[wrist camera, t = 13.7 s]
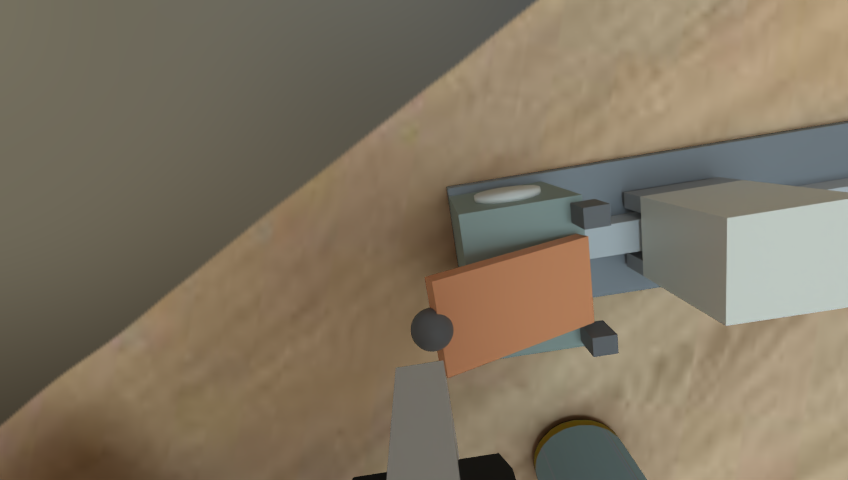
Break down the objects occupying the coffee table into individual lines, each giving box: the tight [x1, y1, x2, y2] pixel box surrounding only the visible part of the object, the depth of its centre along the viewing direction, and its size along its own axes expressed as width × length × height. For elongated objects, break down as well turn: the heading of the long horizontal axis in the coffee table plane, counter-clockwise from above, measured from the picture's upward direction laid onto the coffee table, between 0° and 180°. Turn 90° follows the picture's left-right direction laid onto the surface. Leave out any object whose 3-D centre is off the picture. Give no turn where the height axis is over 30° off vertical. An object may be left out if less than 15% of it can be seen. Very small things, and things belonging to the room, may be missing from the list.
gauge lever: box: [411, 234, 594, 378], centre depth 18 cm, size 2×4×9 cm
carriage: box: [624, 177, 848, 326], centre depth 22 cm, size 6×5×9 cm
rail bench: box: [447, 121, 848, 359], centre depth 23 cm, size 32×9×10 cm, turn 99°
